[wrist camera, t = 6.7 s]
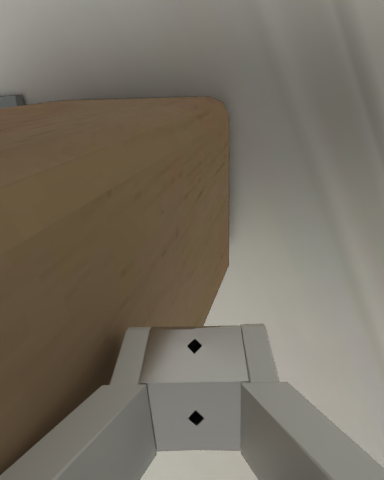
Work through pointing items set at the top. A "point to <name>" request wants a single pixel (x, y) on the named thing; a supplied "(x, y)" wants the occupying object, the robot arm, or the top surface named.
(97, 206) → the wooden block
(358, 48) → the top surface
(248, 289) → the top surface
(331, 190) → the top surface
